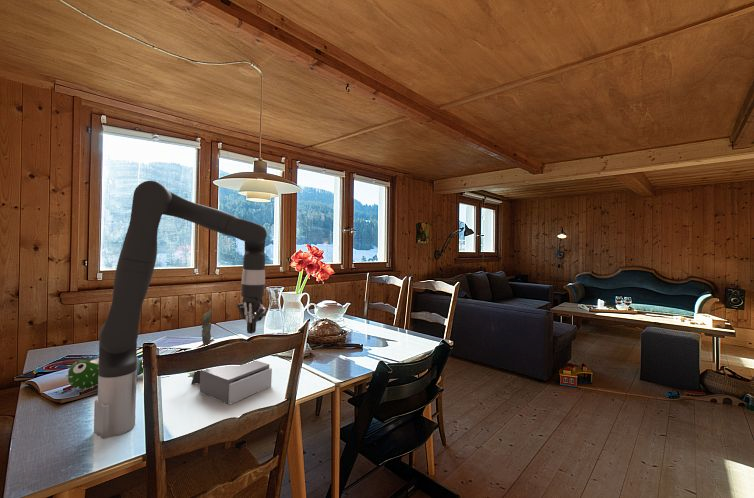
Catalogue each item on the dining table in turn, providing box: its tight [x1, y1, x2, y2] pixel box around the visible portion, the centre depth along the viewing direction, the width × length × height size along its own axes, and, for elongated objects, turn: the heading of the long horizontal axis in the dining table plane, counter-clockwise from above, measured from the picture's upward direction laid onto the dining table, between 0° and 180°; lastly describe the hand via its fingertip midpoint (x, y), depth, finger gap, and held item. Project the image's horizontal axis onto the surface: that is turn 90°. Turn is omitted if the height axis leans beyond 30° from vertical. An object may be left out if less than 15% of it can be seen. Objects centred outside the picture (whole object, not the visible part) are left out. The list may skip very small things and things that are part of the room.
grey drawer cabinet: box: [199, 360, 270, 404], centre depth 135 cm, size 16×19×8 cm
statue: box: [190, 307, 214, 385], centre depth 141 cm, size 7×8×30 cm
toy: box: [65, 356, 144, 391], centre depth 136 cm, size 22×11×30 cm
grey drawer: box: [228, 367, 273, 405], centre depth 134 cm, size 16×19×7 cm
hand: (251, 332), depth 119 cm, fingers closed
